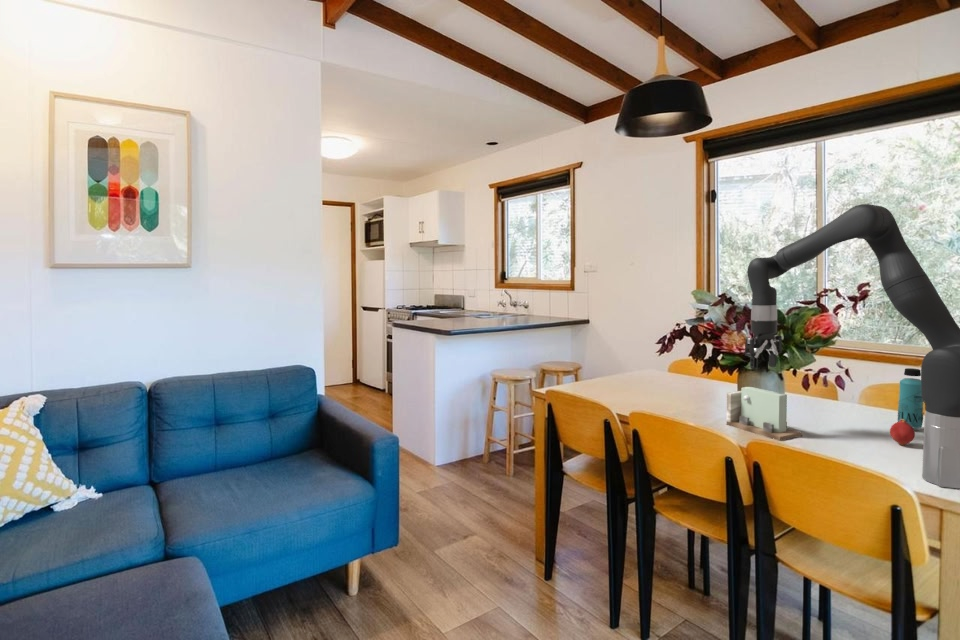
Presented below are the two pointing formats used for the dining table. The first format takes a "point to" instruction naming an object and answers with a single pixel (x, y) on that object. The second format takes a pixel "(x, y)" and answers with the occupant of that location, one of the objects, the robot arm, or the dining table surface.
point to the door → (764, 407)
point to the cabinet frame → (743, 422)
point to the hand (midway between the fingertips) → (763, 367)
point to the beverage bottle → (911, 399)
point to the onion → (902, 432)
